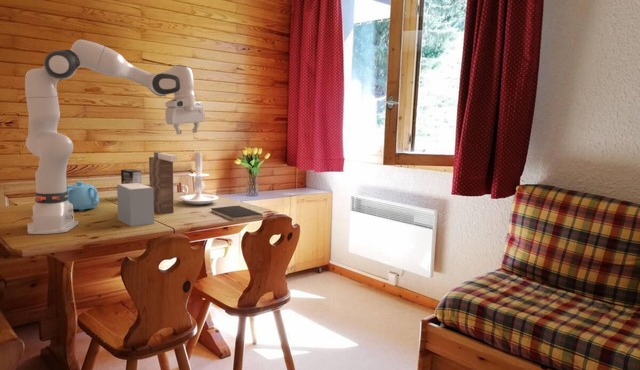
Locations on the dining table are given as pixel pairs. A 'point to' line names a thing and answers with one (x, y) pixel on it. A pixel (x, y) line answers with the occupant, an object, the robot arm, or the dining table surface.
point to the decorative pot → (82, 196)
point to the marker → (165, 156)
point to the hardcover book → (236, 213)
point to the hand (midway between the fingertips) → (187, 133)
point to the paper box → (135, 204)
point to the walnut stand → (161, 184)
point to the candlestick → (197, 185)
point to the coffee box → (130, 176)
